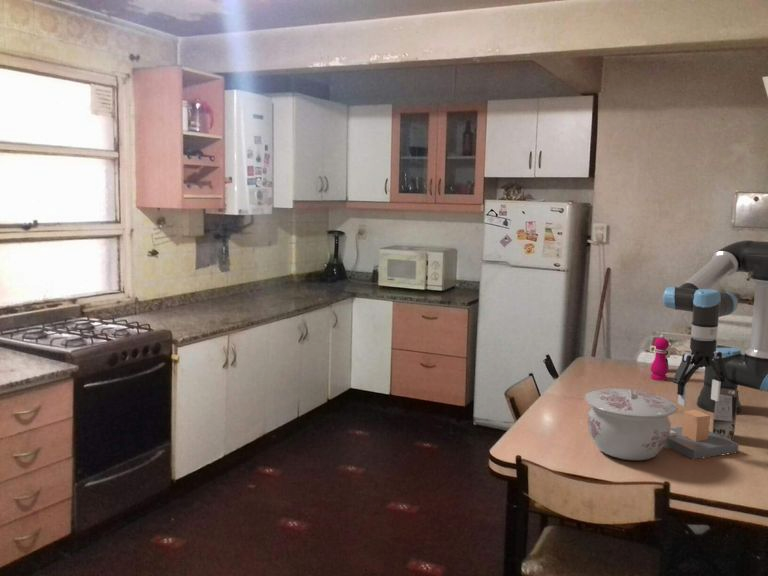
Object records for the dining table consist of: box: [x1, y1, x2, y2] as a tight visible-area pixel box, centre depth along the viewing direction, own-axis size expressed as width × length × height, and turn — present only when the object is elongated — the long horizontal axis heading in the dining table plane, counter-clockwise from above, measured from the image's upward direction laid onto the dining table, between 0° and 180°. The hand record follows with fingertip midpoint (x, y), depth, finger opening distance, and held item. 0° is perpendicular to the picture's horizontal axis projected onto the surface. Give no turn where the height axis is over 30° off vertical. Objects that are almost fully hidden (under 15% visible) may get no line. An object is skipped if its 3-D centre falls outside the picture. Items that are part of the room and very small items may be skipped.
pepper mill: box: [650, 334, 670, 382], centre depth 299 cm, size 7×7×20 cm
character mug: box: [649, 342, 676, 366], centre depth 313 cm, size 11×7×13 cm, turn 63°
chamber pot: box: [583, 388, 678, 462], centre depth 213 cm, size 28×28×21 cm
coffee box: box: [711, 388, 739, 442], centre depth 228 cm, size 9×6×16 cm
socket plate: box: [664, 426, 740, 460], centre depth 221 cm, size 18×18×4 cm
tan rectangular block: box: [681, 409, 711, 441], centre depth 220 cm, size 5×6×10 cm
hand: (698, 402), depth 219 cm, fingers open, 13 cm apart
